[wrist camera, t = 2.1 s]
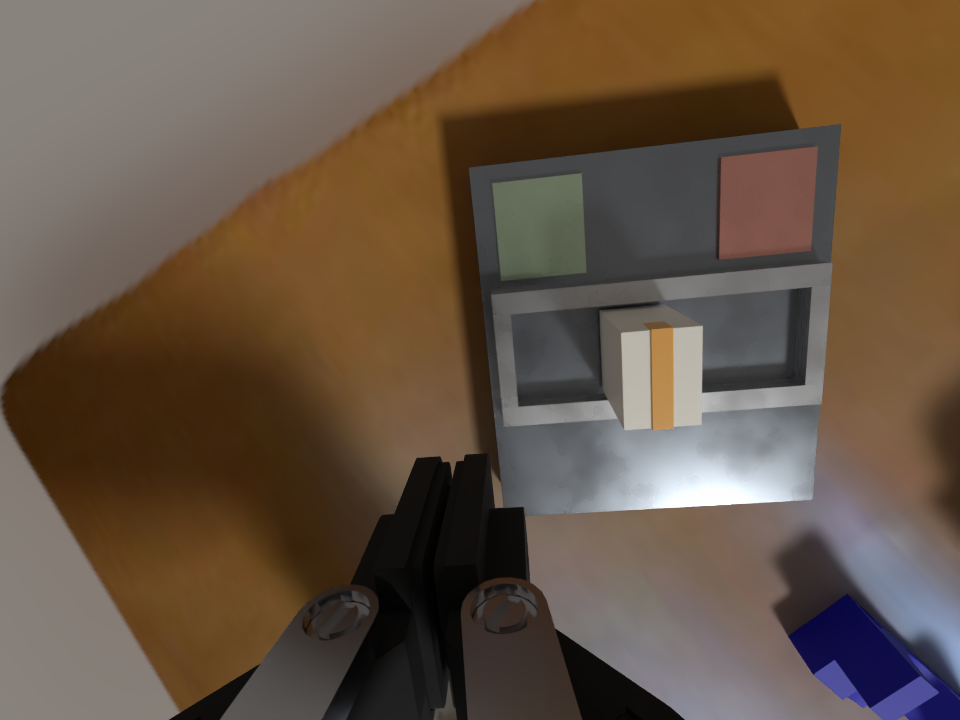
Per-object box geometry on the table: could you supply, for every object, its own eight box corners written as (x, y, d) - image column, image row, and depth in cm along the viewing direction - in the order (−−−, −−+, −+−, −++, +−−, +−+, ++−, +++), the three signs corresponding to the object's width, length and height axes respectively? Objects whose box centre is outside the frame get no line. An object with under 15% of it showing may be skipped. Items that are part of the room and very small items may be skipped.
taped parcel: (664, 385, 25) (702, 427, 20) (602, 390, 25) (624, 432, 20) (663, 303, 24) (703, 325, 19) (599, 309, 24) (621, 332, 19)
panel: (782, 471, 29) (823, 510, 25) (505, 488, 30) (504, 527, 27) (802, 135, 24) (856, 119, 21) (473, 173, 26) (466, 165, 22)
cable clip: (786, 634, 32) (845, 724, 27) (845, 591, 31) (920, 676, 25) (906, 737, 34) (986, 843, 28) (965, 700, 33) (1062, 803, 27)
